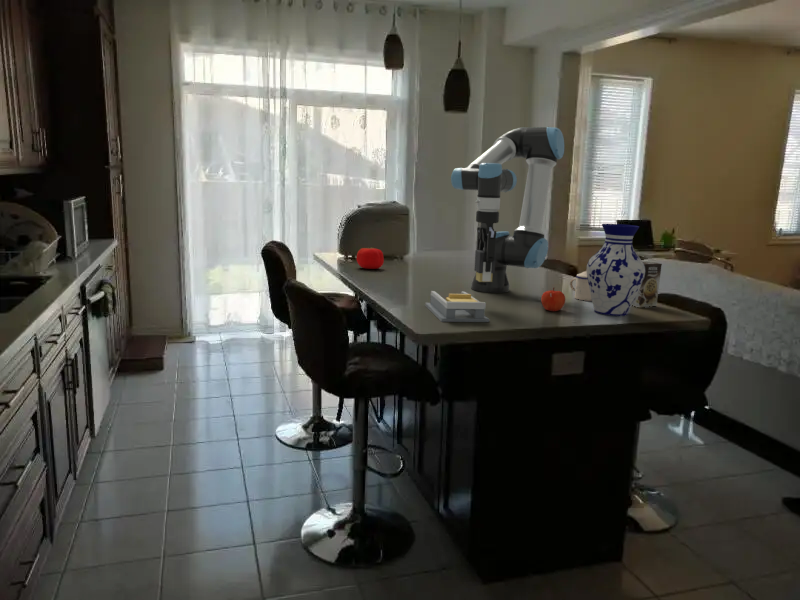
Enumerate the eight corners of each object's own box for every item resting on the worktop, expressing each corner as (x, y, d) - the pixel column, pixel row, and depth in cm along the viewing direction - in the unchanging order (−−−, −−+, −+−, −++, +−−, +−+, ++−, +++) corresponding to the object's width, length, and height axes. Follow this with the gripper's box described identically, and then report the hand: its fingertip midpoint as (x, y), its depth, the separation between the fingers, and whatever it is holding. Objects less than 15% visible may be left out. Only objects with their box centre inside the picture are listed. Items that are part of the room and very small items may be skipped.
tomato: (382, 271, 293) (383, 248, 291) (355, 269, 293) (356, 247, 291) (383, 267, 304) (384, 246, 302) (357, 266, 304) (357, 245, 302)
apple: (560, 313, 214) (562, 290, 212) (537, 310, 218) (539, 287, 217) (567, 310, 221) (569, 287, 219) (544, 307, 225) (546, 284, 223)
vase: (608, 320, 208) (618, 227, 202) (570, 308, 225) (579, 222, 219) (652, 317, 215) (663, 228, 210) (613, 306, 232) (622, 223, 227)
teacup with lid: (602, 299, 244) (606, 269, 242) (591, 302, 238) (594, 271, 236) (574, 295, 253) (577, 265, 251) (562, 297, 246) (565, 267, 244)
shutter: (472, 302, 203) (472, 294, 203) (478, 306, 197) (478, 298, 196) (445, 301, 202) (446, 293, 201) (450, 306, 195) (451, 297, 195)
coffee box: (639, 308, 231) (644, 263, 228) (625, 304, 236) (630, 261, 233) (657, 307, 235) (662, 263, 232) (643, 303, 241) (648, 261, 238)
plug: (489, 279, 220) (491, 246, 218) (493, 282, 215) (496, 248, 212) (473, 279, 219) (475, 246, 217) (478, 282, 214) (480, 248, 211)
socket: (467, 305, 220) (468, 288, 219) (489, 322, 196) (490, 302, 195) (424, 305, 217) (425, 288, 216) (441, 321, 194) (442, 302, 192)
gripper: (469, 208, 220) (465, 274, 225) (485, 212, 202) (480, 284, 207) (490, 208, 221) (486, 274, 226) (507, 213, 204) (503, 284, 209)
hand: (483, 279), depth 217 cm, fingers closed on plug, 5 cm apart
